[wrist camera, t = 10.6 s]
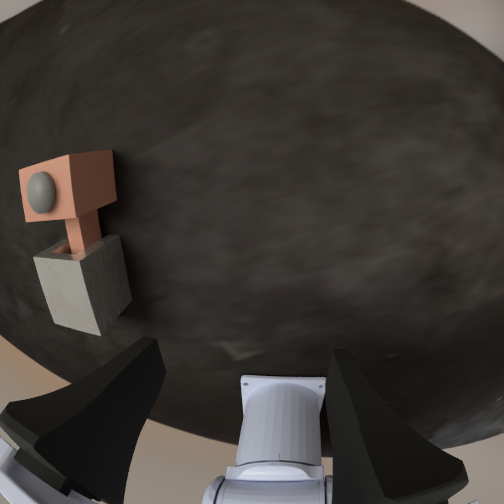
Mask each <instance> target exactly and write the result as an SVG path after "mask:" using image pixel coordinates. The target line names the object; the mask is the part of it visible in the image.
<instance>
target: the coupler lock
mask: <svg viewBox="0 0 504 504" xmlns="http://www.w3.org/2000/svg"><path fill="white" fill-rule="evenodd" d="M34 261H35V265H36V268H37V272H38V276H39V279H40V282H41V286H42V289H43V292H44V295H45V298H46V301H47V304H48V306H49V309H50V312H51V315H52V317H53V320H54V322H55V324H59V325H62V326H65V327H69V328H72V329H76V330H80V331H83V332H87V333H91V334H95V335H99V336H102V334H103V333H104V332H105V331H106V330H107V329H108V327H109V326H110V325H111V324H112V323H113V322H114V320H115V319H116V318H117V317H118V316H119V315H120V314H121V312H122V311H123V310H124V309H125V308H126V307H127V306H128V305H129V303H130V302H131V301H132V296H131V292H130V287H129V282H128V277H127V272H126V267H125V262H124V256H123V250H122V244H121V237H120V235H107V236H105V237H104V238H102V239H100V240H99V241H97V242H95V243H94V244H92V245H91V246H89V247H87V248H86V249H84V250H82V251H81V252H79V253H78V254H76V255H75V254H72V252H71V248H70V243H69V238H66V239H64V240H62V241H60V242H58V243H57V244H55V245H53V246H51V247H50V248H48V249H46V250H44V251H43V252H41V253H39V254H37V255H36V256H34Z"/></svg>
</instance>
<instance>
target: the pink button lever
mask: <svg viewBox="0 0 504 504" xmlns="http://www.w3.org/2000/svg"><path fill="white" fill-rule="evenodd" d="M19 176H20V185H21V193H22V200H23V207H24V213H25V218H26V222H33V221H44V220H56V219H65V223H66V228H67V233H68V238H69V243H70V248H71V252H72V254H75V255H76V254H78V253H79V252H81V251H82V250H84V249H86V248H87V247H89V246H91V245H92V244H94V243H95V242H97V241H99V240H100V239H102V236H101V230H100V225H99V218H98V212H97V209H98V208H100V207H103V206H105V205H108V204H110V203H112V202H115V201H117V196H116V187H115V177H114V166H113V151H112V150H102V151H93V152H85V153H77V154H70V155H66V156H62V157H59V158H55V159H52V160H49V161H45V162H42V163H39V164H36V165H33V166H30V167H27V168H24V169H21V170H19Z"/></svg>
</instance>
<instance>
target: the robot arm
mask: <svg viewBox="0 0 504 504" xmlns="http://www.w3.org/2000/svg"><path fill="white" fill-rule="evenodd" d="M165 374H166V369H165V366H164V363H163V360H162V356H161V353H160V349H159V346H158V342H157V339H156V338H151V337H143V338H141V339H140V340H138V341H137V342H135V343H134V344H133V345H131V346H130V347H129V348H127V349H126V350H124V351H123V352H122V353H120V354H119V355H118V356H116V357H115V358H113V359H112V360H111V361H109V362H108V363H106V364H105V365H103V366H102V367H100V368H99V369H97V370H95V371H94V372H92V373H91V374H89V375H87V376H86V377H84V378H82V379H80V380H78V381H76V382H74V383H72V384H70V385H68V386H66V387H64V388H61V389H59V390H56V391H54V392H51V393H48V394H45V395H42V396H38V397H34V398H30V399H26V400H20V401H14V402H9V404H8V405H7V406H6V408H5V409H4V410H3V411H2V413H1V414H0V426H1V428H2V429H3V430H4V431H5V432H6V433H7V434H8V435H9V437H10V438H11V439H12V440H13V441H14V442H15V443H16V444H17V445H18V446H19V447H20V448H19V450H18V451H17V450H16V449H15V448H14V447H13V446H11V445H10V444H9V443H8V442H7V441H6V440H4V439H3V438H2V437H1V436H0V493H2V495H3V496H4V497H5V498H6V499H7V500H8V501H9V502H10V504H98V503H96V502H94V501H92V500H91V499H94V500H96V501H99V502H100V501H103V502H105V503H107V504H123V502H124V494H125V487H126V482H127V477H128V472H129V467H130V464H131V460H132V457H133V453H134V450H135V446H136V443H137V440H138V437H139V435H140V432H141V430H142V428H143V425H144V424H145V421H146V419H147V417H148V415H149V413H150V411H151V409H152V407H153V405H154V403H155V401H156V399H157V397H158V394H159V392H160V390H161V387H162V384H163V381H164V377H165ZM241 390H242V402H243V414H244V418H243V423H242V429H241V434H240V440H239V445H238V451H237V456H236V461H235V466H234V467H228V468H227V473H226V476H219V477H217V478H216V479H215V480H214V481H212V482H211V483H210V484H209V486H208V487H207V489H206V491H205V494H204V497H203V501H202V504H448V499H449V498H450V497H451V496H453V495H455V494H456V493H457V492H459V491H460V490H462V489H463V488H464V487H465V486H466V485H467V484H468V482H469V480H468V476H467V472H466V469H465V466H464V464H463V461H462V460H460V459H458V458H456V457H454V456H452V455H450V454H448V453H446V452H444V451H443V450H441V449H439V448H438V447H436V446H435V445H433V444H432V443H430V442H429V441H427V440H426V439H425V438H423V437H422V436H421V435H420V434H418V433H417V432H416V431H414V430H413V429H412V428H411V427H410V426H408V425H407V424H406V423H405V422H404V421H403V420H402V419H401V418H400V417H399V416H398V415H397V414H396V413H395V412H394V411H393V410H392V409H391V408H390V407H389V405H388V404H387V403H386V402H385V401H384V400H383V398H382V397H381V396H380V395H379V394H378V392H377V391H376V390H375V388H374V387H373V386H372V384H371V383H370V382H369V380H368V379H367V378H366V376H365V375H364V373H363V372H362V370H361V369H360V367H359V366H358V364H357V363H356V361H355V360H354V358H353V356H352V355H351V353H350V352H349V350H348V349H334V350H332V353H331V358H330V363H329V368H328V373H327V377H326V378H325V377H275V376H255V375H243V376H242V377H241ZM324 395H325V398H326V410H327V417H328V424H329V431H330V438H331V445H332V455H333V476H332V475H328V476H325V481H324V467H323V466H321V438H320V418H319V414H320V410H321V407H322V403H323V399H324ZM469 504H479V501H478V500H475V501H473V502H471V503H469Z"/></svg>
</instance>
